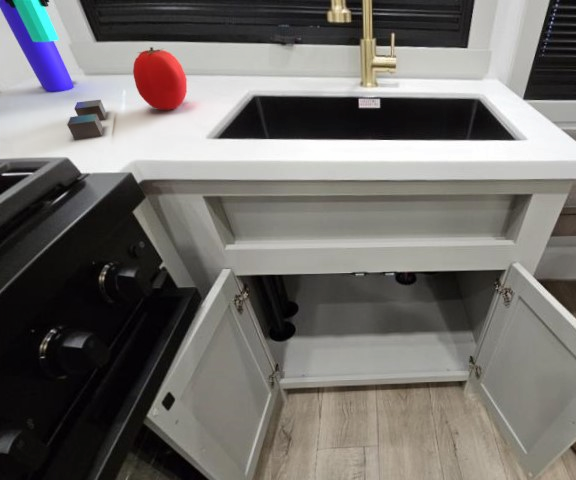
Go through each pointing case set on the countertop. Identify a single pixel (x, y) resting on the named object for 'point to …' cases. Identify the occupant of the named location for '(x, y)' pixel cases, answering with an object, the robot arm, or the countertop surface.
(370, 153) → the countertop surface
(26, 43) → the bottle
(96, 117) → the dark grey block
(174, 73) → the tomato
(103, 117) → the dark brown block
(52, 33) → the candle
